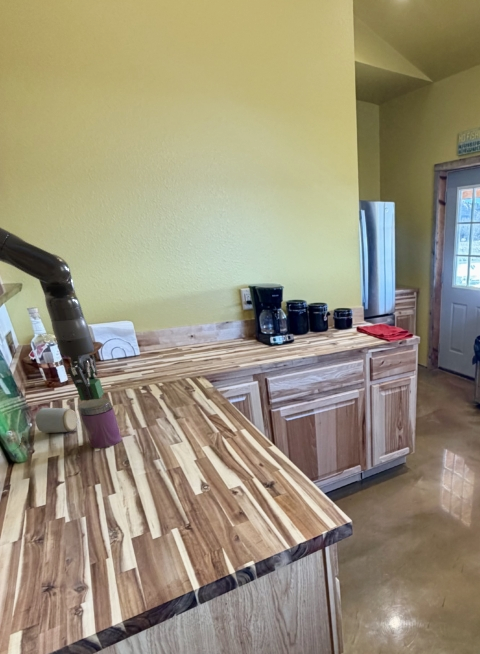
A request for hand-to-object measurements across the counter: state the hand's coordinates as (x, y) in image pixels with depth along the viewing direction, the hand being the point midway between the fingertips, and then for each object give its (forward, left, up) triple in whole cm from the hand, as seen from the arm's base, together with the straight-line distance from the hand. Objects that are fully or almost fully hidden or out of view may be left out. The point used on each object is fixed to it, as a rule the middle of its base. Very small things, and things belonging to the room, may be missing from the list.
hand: (92, 396), depth 116 cm
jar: (0, 0, -14) cm, 14 cm away
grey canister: (-15, +14, -15) cm, 25 cm away
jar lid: (0, 0, -3) cm, 3 cm away
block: (0, 0, 0) cm, 0 cm away
